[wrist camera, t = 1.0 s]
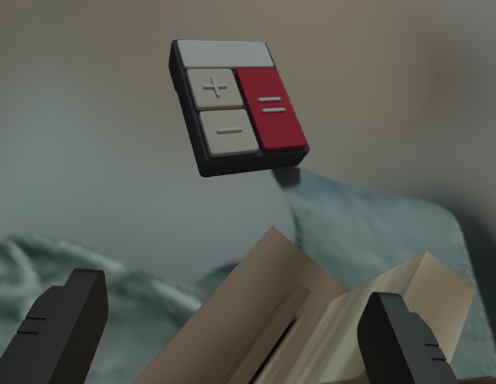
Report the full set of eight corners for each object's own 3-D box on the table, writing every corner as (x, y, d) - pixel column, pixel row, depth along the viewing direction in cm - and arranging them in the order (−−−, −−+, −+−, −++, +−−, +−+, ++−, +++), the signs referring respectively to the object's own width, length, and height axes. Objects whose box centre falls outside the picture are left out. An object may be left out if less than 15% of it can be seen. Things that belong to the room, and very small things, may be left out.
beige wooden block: (237, 393, 25) (363, 377, 12) (285, 324, 28) (426, 250, 15) (264, 419, 25) (425, 432, 11) (309, 346, 28) (475, 290, 15)
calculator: (208, 158, 32) (171, 32, 37) (199, 181, 35) (167, 64, 41) (315, 147, 36) (268, 35, 41) (297, 169, 40) (256, 64, 45)
